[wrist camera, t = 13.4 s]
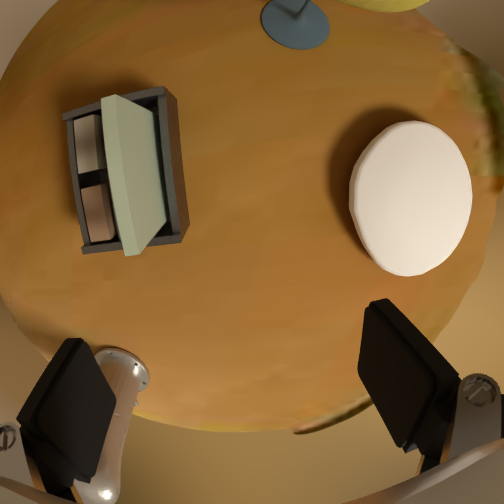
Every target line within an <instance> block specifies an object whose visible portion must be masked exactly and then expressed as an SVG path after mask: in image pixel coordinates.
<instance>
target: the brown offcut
mask: <svg viewBox="0 0 504 504" xmlns="http://www.w3.org/2000/svg"><path fill="white" fill-rule="evenodd" d="M74 132H75V145H76V156H77V165H78V173H79V174H80V173H85V172H90V171H95V170H100V169H105V168H107V162H106V153H105V143H104V133H103V122H102V116H98V115H94V114H93V115H90V116H87V117H84V118H81V119H77V120H74Z"/></svg>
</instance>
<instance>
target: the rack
mask: <svg viewBox="0 0 504 504" xmlns="http://www.w3.org/2000/svg"><path fill="white" fill-rule="evenodd" d="M120 97H123V98H125V99H127V100H129V101H131V102H133V103H135V104H137V105H139V106H141V107H143V108H145V109H147V110H149V111H151V112H153V113H155V114H157V115H159V121H160V133H161V144H162V154H163V164H164V172H165V181H166V189H167V196H168V204H169V211H170V218H169V219H168V220H167V221H166V222H165V223H164V225H163V226H162V227H161V228H160V229H159V231H158V232H157V233H156V234H155V236H154V237H153V238H152V239H151V240H150V242H149V243H148V244H147V245H146V247H148V246H156V245H165V244H174V243H181V241H182V239H183V237H184V235H185V233H186V231H187V229H188V227H189V225H190V222H189V214H188V207H187V199H186V191H185V182H184V173H183V164H182V154H181V144H180V133H179V121H178V108H177V99H176V98H175V97H174V96H173V95H172V94H171V93H170V92H169V91H168V90H167V89H166V88H165V87H164V86H161V87H155V88H151V89H146V90H141V91H137V92H133V93H128V94H124V95H120ZM93 114H94V115H98V116H102V109H101V101H99V102H96V103H92V104H89V105H86V106H83V107H80V108H77V109H74V110H71V111H68V112H66V113H63V114H62V117H63V121H66V123H67V139H68V151H69V161H70V169H71V177H72V184H73V191H74V197H75V203H76V208H77V214H78V219H79V224H80V228H81V233H82V237H83V242H84V246H82V247H81V249H82V253H83V254H90V253H98V252H106V251H114V250H122V249H123V245H122V241H121V237H120V232H119V228H118V223H117V218H116V213H115V208H114V203H113V197H112V192H111V186H110V192H111V198H112V205H113V210H114V216H115V221H116V227H117V232H118V234H116V235H115V236H114V237H113V238H112V239H110V240H103V241H96V242H91V240H90V235H89V231H88V226H87V221H86V216H85V211H84V205H83V200H82V193H81V189H83V188H86V187H90V186H93V185H96V184H99V183H103V182H106V181H109V185H110V179H109V173H108V166H107V168H105V169H100V170H95V171H90V172H85V173H80V174H79V173H78V165H77V156H76V145H75V132H74V120H77V119H81V118H84V117H87V116H90V115H93ZM104 143H105V142H104ZM105 153H106V151H105ZM106 162H107V159H106Z"/></svg>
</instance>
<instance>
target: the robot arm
mask: <svg viewBox="0 0 504 504" xmlns="http://www.w3.org/2000/svg"><path fill="white" fill-rule="evenodd" d="M358 374H359V377H360V379H361V381H362V382H363V384H364V386H365V388H366V390H367V391H368V393H369V395H370V397H371V399H372V401H373V403H374V404H375V406H376V408H377V410H378V412H379V414H380V416H381V417H382V419H383V421H384V423H385V425H386V427H387V429H388V431H389V433H390V434H391V436H392V438H393V440H394V442H395V444H396V446H397V447H399V448H401V447H402V448H403V450H404V452H405V453H408V452H410V451H412V450H414V449H417V448H418V449H419V451H420V453H421V459H420V462H419V465H418V468H417V471H416V474H415V477H413V478H411V479H409V480H406V481H404V482H402V483H399V484H397V485H394V486H392V487H389V488H387V489H384V490H382V491H379V492H376V493H373V494H371V495H368V496H365V497H362V498H359V499H356V500H353V501H349V502H346V503H343V504H504V394H501V392H500V387H499V386H498V384H497V382H496V381H495V380H494V379H492V378H491V377H489V376H487V375H484V374H479V373H475V374H471V375H468V376H466V377H465V378H463V380H461V379H460V378H459V377H458V375H459V374H458V373H457V372H456V370H455V369H454V368H453V367H452V366H451V365H450V364H449V362H447V360H446V359H445V358H444V357H443V356H442V355H441V354H440V352H439V351H438V350H437V349H436V348H435V347H434V346H433V345H432V344H431V343H430V342H429V340H428V339H427V338H426V337H425V336H424V335H423V334H422V333H421V332H420V331H419V330H418V329H417V328H416V327H415V326H414V325H413V324H412V323H411V322H410V320H409V319H408V318H407V317H406V316H405V315H404V314H403V313H402V312H401V311H400V310H399V309H398V308H397V307H396V306H395V305H394V304H393V303H392V302H391V301H390V300H389V299H387V298H385V299H381V300H376V301H372V302H370V304H369V307H366V308H365V312H364V322H363V331H362V339H361V347H360V354H359V361H358ZM148 382H149V373H148V370H147V368H146V367H145V365H144V364H143V363H142V362H141V361H140V360H139V359H138V358H137V357H136V356H134V355H132V354H131V353H129V352H127V351H124V350H121V349H118V348H104V349H101V350H100V351H98V352H97V353H96V355H95V357H94V355H93V353H92V351H91V349H90V347H89V345H88V344H87V343H86V342H84V340H83V339H81V338H67V339H66V340H65V341H64V342H63V344H62V345H61V346H60V348H59V349H58V351H57V352H56V354H55V355H54V357H53V358H52V360H51V361H50V363H49V364H48V366H47V368H46V369H45V371H44V372H43V374H42V376H41V377H40V379H39V380H38V382H37V383H36V385H35V387H34V388H33V390H32V392H31V394H30V395H29V397H28V398H27V400H26V402H25V404H24V405H23V407H22V409H21V411H20V412H19V415H18V416H17V418H16V420H17V421H18V422H19V423H20V424H21V427H20V429H19V427H18V426H17V425H16V424H14V423H12V422H5V423H2V424H0V504H84V503H86V504H114V503H115V502H116V501H117V499H118V496H119V492H120V466H121V457H122V451H123V446H124V442H125V438H126V434H127V430H128V426H129V422H130V419H131V415H132V411H133V407H134V406H138V401H137V400H136V398H137V394H138V392H140V391H142V390H144V389H145V388H146V387H147V385H148Z"/></svg>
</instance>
